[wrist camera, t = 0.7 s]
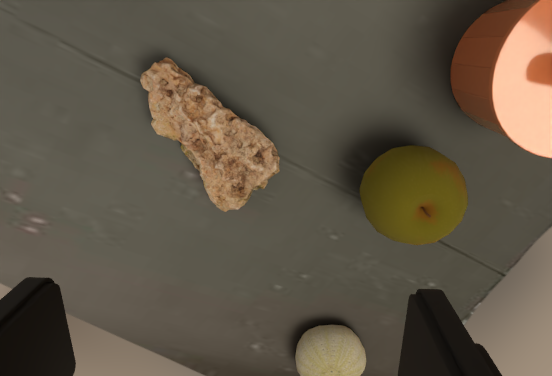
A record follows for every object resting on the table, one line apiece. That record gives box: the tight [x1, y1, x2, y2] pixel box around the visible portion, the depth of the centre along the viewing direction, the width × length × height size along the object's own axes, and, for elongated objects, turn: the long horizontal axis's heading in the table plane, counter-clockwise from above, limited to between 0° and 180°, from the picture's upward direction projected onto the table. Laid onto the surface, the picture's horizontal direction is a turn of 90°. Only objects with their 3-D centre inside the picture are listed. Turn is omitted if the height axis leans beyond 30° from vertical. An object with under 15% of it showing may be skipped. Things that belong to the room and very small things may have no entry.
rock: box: [140, 58, 280, 212], centre depth 42 cm, size 17×5×10 cm
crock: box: [450, 0, 536, 137], centre depth 35 cm, size 13×13×10 cm
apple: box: [359, 145, 468, 245], centre depth 39 cm, size 10×10×11 cm
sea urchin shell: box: [295, 324, 366, 376], centre depth 51 cm, size 9×8×8 cm
